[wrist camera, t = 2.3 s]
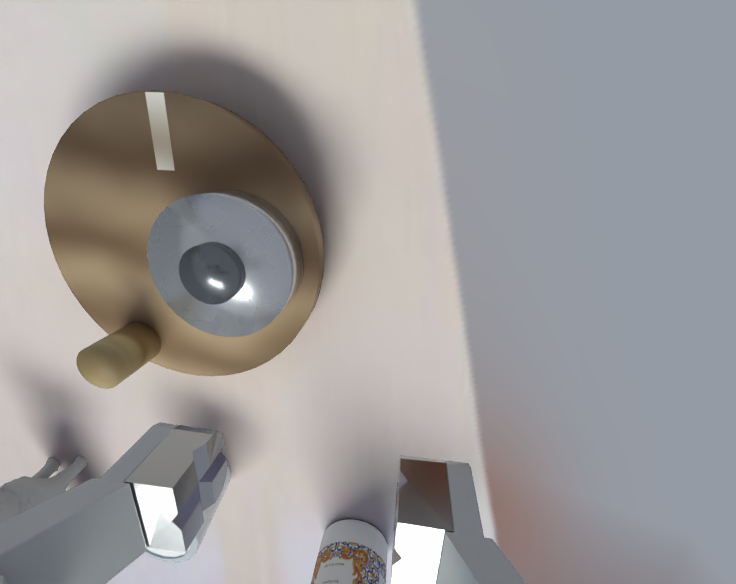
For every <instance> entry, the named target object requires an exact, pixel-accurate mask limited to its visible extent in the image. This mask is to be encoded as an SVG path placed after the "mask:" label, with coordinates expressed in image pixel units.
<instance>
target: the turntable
mask: <svg viewBox="0 0 736 584" xmlns="http://www.w3.org/2000/svg"><path fill="white" fill-rule="evenodd" d="M224 190H236V191H244V192H247V193H251V194H254V195H256V196H259V197H261V198H263V199H264V200H266V201H268V202H269V203H271V204H272V205H273V206H275V207H276V208H277V209H278V210H279V211H280V212H281V213H282V214H283V215H284V216H285V217H286V218H287V219H288V221H289V222H290V223H291V225H292V227H293V228H294V230H295V232H296V234H297V236H298V238H299V241H300V244H301V247H302V251H303V257H304V273H303V278H302V282H301V285H300V287H299V289H298V291H297V293H296V295H295V296H294V298H293V299H292V300H291V302H290V303H289V304H288V305H287V306H286V307H285V308H284V309H283V310H282V312H281V313H280V314H279V315H278V316H277V317H276V318H275V319H274V320H273V321H272V322H271V323H270V324H269V325H268V326H266V327H265V328H264V329H262V330H260V331H258V332H256V333H253V334H250V335H247V336H242V337H222V336H216V335H212V334H209V333H206V332H204V331H201V330H199V329H197V328H195V327H193V326H191V325H190V324H188V323H187V322H185V321H184V320H183V319H181V318H180V317H179V316H178V315H177V314H175V312H174V311H173V310H172V309H171V308H170V307H169V306H168V305H167V304H166V302H165V301H164V300H163V298H162V297H161V295H160V294H159V292H158V290H157V288H156V286H155V284H154V282H153V279H152V277H151V274H150V270H149V266H148V258H147V245H148V238H149V235H150V231H151V229H152V226H153V224H154V222H155V220H156V219H157V218H158V216H159V215H160V213H161V212H162V211H163V210H164V209H165V208H166V207H168V206H169V205H170V204H172V203H173V202H175V201H177V200H179V199H181V198H184V197H187V196H191V195H197V194H204V193H211V192H217V191H224ZM44 211H45V221H46V228H47V232H48V237H49V241H50V245H51V248H52V251H53V254H54V257H55V260H56V262H57V264H58V267H59V269H60V271H61V273H62V275H63V277H64V279H65V281H66V283H67V284H68V286H69V288H70V289H71V291H72V293H73V294H74V296H75V297H76V299H77V300H78V301H79V303H80V304H81V305H82V307H83V308H84V309H85V311H86V312H87V313H88V314H89V315H90V316H91V317H92V319H93V320H94V321H95V322H96V323H97V324H98V325H99V326H100V327H101V328H102V329H103V330H104V331H105V332H106V333H108V334H109V335H108V336H106V337H104V338H103V339H101V340H99V341H97V342H96V343H94V344H92V345H90V346H89V347H87V348H85V349H83V350H82V351H80V352H79V354H78V356H77V367H78V369H79V371H80V373H81V374H82V376H83V377H84V378H85V379H86V380H87V381H88V382H90V383H91V384H93V385H95V386H97V387H100V388H105V389H109V388H113V387H115V386H117V385H118V384H119V383H121V382H122V381H123V380H125V379H126V378H127V377H129V376H130V375H131V374H133V373H134V372H135V371H137V370H138V369H139V368H141V367H142V366H143V365H145V364H146V363H147V362H149V361H150V362H152V363H155V364H157V365H160V366H162V367H165V368H167V369H171V370H174V371H178V372H181V373H187V374H193V375H201V376H222V375H231V374H236V373H241V372H244V371H247V370H250V369H253V368H256V367H258V366H260V365H262V364H264V363H266V362H268V361H269V360H271V359H272V358H274V357H275V356H276V355H278V354H279V353H281V352H282V351H283V350H284V349H285V348H286V347H287V346H288V345H289V344H290V343H291V342H292V341H293V339H294V338H295V337H296V335H297V334H298V333H299V331H300V330H301V329H302V327H303V326H304V324H305V323H306V321H307V320H308V318H309V316H310V314H311V312H312V310H313V309H314V307H315V304H316V301H317V298H318V296H319V293H320V289H321V284H322V279H323V271H324V246H323V237H322V232H321V227H320V222H319V219H318V215H317V212H316V209H315V206H314V203H313V201H312V199H311V197H310V195H309V192H308V190H307V188H306V186H305V184H304V182H303V181H302V179H301V177H300V176H299V174H298V173H297V171H296V169H295V168H294V166H293V165H292V164H291V162H290V161H289V160H288V159H287V157H286V156H285V155H284V154H283V152H282V151H281V150H280V149H279V148H278V147H277V146H276V145H275V144H274V143H273V142H272V141H271V140H270V139H269V138H268V137H267V136H266V135H265V134H264V133H262V132H261V131H260V130H259V129H257V128H256V127H255V126H253V125H252V124H251V123H249V122H248V121H247V120H245V119H243V118H241V117H240V116H238V115H236V114H235V113H233V112H231V111H229V110H227V109H225V108H222V107H220V106H218V105H215V104H213V103H210V102H207V101H204V100H200V99H197V98H193V97H189V96H186V95H182V94H178V93H173V92H164V91H155V90H153V91H134V92H130V93H125V94H121V95H116V96H114V97H111V98H109V99H106V100H104V101H102V102H99V103H98V104H96V105H94V106H93V107H91V108H90V109H88V110H87V111H85V112H84V113H83V114H82V115H81V116H79V117H78V118H77V119H76V120H75V121H74V122H73V123H72V124H71V125H70V127H69V128H68V129H67V131H66V132H65V133H64V135H63V136H62V137H61V139H60V141H59V143H58V145H57V147H56V149H55V151H54V153H53V155H52V158H51V161H50V164H49V168H48V171H47V176H46V183H45V189H44Z"/></svg>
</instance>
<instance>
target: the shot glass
mask: <svg viewBox="0 0 736 584" xmlns="http://www.w3.org/2000/svg"><path fill="white" fill-rule="evenodd" d="M230 477H231V472H230V469H229V466H228V465H227V476H226V480H225V483H224V486H223V489H222V492H221V493H220V495H219V497H218V499H217V500H216V502H215V503H214V504H213V505H211V506H210V507H208V508H207V509H206V510H204V511H203V516H204V523H203V524H202V526H201V528H200V530H199V531H198V533H197V535H196V536H195V538H194V540H193V541H192V543H191V545H190V546H189V548H188V550H187V552H186V553H185V552H178V551H170V550H163V549H155V548H148V547H147V551H145V552H144V553H145V554H147V555H148V556H150V557H153V558H156V559H159V560H162V561H165V562H182V561H186V560H189V559H190V558H191V557H192V556H194V555H195V554H196V552H197V550H198V548H199V546H200V544H201V542H202V540H203V537H204V535H205V533H206V531H207V529H208V527H209V525H210V522H211V520H212V518H213V516H214V514H215V512H216V509H217V507H218V505H219V503H220V501H221V499H222V497H223V494H224V492H225V490H226V488H227V486H228V484H229V481H230Z"/></svg>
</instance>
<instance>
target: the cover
mask: <svg viewBox="0 0 736 584" xmlns="http://www.w3.org/2000/svg"><path fill="white" fill-rule="evenodd" d="M147 258H148V266H149V270H150V274H151V277H152V279H153V282H154V284H155V286H156V288H157V290H158V292H159V294H160V295H161V297H162V298H163V300H164V301H165V302H166V304H167V305H168V306H169V307H170V308H171V309H172V310H173V311H174V312H175V314H177V315H178V316H179V317H180V318H181V319H183V320H184V321H185V322H187V323H188V324H190V325H191V326H193V327H195V328H197V329H199V330H201V331H204V332H206V333H209V334H212V335H216V336H222V337H242V336H247V335H250V334H253V333H256V332H258V331H260V330H262V329H264V328H265V327H266V326H268V325H269V324H270V323H271V322H272V321H273V320H274V319H275V318H276V317H277V316H278V315H279V314H280V313H281V312H282V310H283V309H284V308H285V307H286V306H287V305H288V304H289V303H290V302H291V300H292V299H293V298H294V296H295V295H296V293H297V291H298V289H299V287H300V285H301V282H302V278H303V273H304V257H303V251H302V247H301V244H300V241H299V238H298V236H297V234H296V232H295V230H294V228H293V227H292V225H291V223H290V222H289V221H288V219H287V218H286V217H285V216H284V215H283V214H282V213H281V212H280V211H279V210H278V209H277V208H276V207H275V206H273V205H272V204H271V203H269V202H268V201H266V200H264V199H263V198H261V197H259V196H256V195H254V194H251V193H247V192H244V191H236V190H224V191H217V192H211V193H204V194H197V195H191V196H187V197H184V198H181V199H179V200H177V201H175V202H173V203H172V204H170V205H169V206H168V207H166V208H165V209H164V210H163V211H162V212H161V213H160V215H159V216H158V218H157V219H156V220H155V222H154V224H153V226H152V229H151V231H150V235H149V238H148V245H147Z"/></svg>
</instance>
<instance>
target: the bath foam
mask: <svg viewBox="0 0 736 584" xmlns="http://www.w3.org/2000/svg"><path fill="white" fill-rule="evenodd" d="M386 566H387V543H386V540H385V538H384V536H383V535H382V533H381V532H380V531H379V530H378V529H376V528H375V527H374V526H372V525H370V524H368V523H366V522H363V521H359V520H352V519H347V520H341V521H337V522H335V523H333V524H332V525H330V526H329V527H328V528H327V529H326V531H325V532H324V534H323V537H322V541H321V545H320V549H319V553H318V557H317V561H316V565H315V569H314V573H313V577H312V581H311V584H385V583H386Z"/></svg>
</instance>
